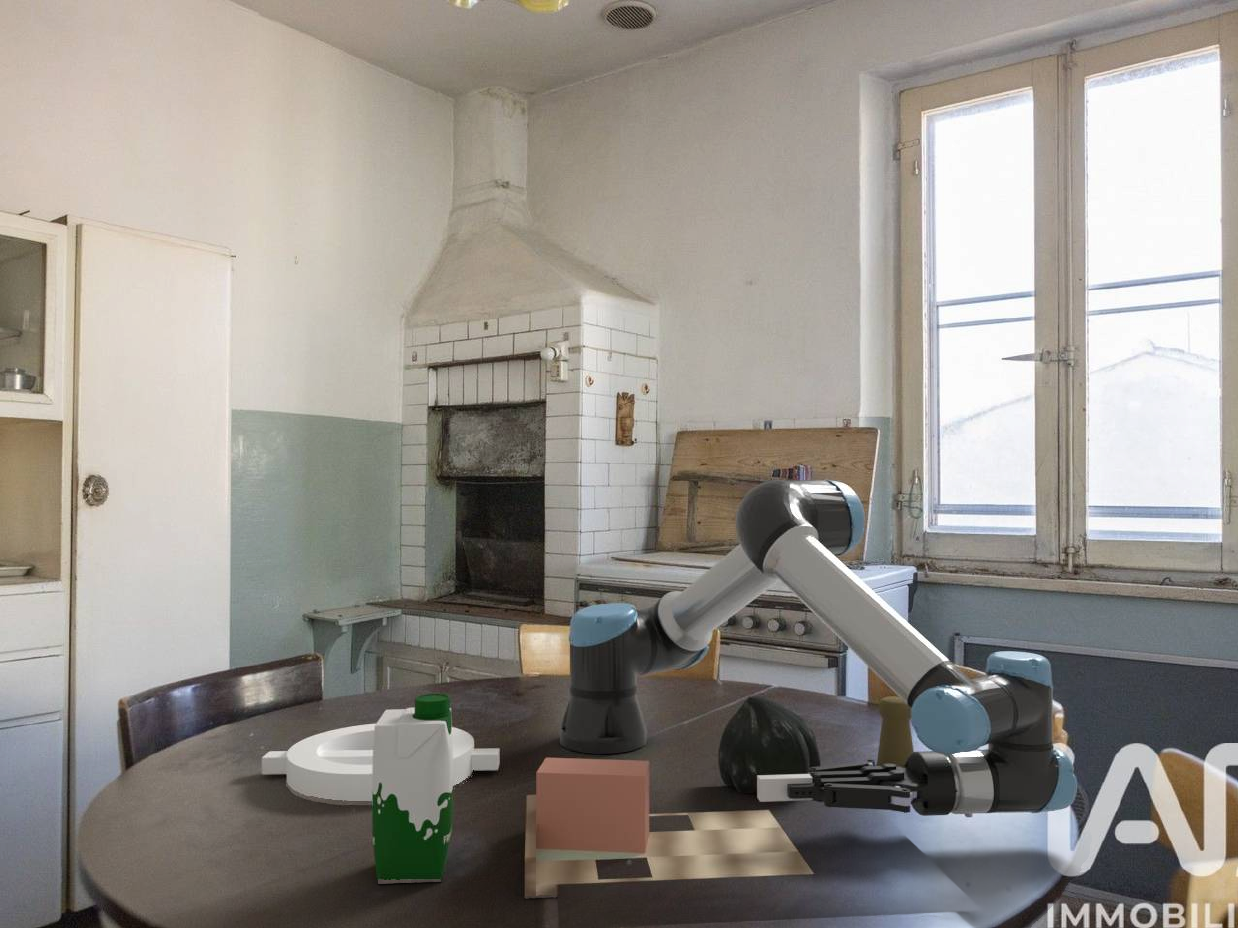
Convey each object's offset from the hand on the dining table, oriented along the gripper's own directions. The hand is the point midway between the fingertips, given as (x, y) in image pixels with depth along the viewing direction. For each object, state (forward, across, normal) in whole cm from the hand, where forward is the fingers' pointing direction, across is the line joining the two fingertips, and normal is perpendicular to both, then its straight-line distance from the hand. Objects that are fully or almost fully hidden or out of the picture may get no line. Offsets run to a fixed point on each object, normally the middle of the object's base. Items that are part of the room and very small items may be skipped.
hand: (758, 788), depth 112 cm
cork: (-29, +31, -8) cm, 43 cm away
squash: (-6, +21, -8) cm, 23 cm away
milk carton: (+41, -2, -8) cm, 42 cm away
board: (+12, 0, -8) cm, 14 cm away
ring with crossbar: (+51, +35, -8) cm, 62 cm away
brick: (+20, +2, -6) cm, 21 cm away
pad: (+21, 0, -8) cm, 22 cm away
